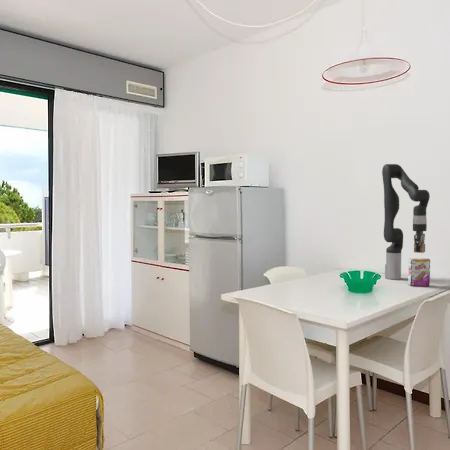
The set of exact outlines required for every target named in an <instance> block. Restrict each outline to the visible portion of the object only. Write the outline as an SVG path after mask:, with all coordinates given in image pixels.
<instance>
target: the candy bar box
mask: <svg viewBox="0 0 450 450" xmlns="http://www.w3.org/2000/svg"><path fill="white" fill-rule="evenodd" d="M430 279H431V259H430V258H428V257H427V258H423V257H422V258H420V257H419V258H418V257H417V258H416V257H414V258H413V257H409V258H408V279H407V280H408V281H407V285H408V286H410V287H430V284H431V283H430Z"/></svg>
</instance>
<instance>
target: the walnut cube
mask: <svg viewBox="0 0 450 450" xmlns="http://www.w3.org/2000/svg"><path fill="white" fill-rule="evenodd" d="M413 253H419V254H420V253H421V254H424V253H426V243H424V244H420V252H416V245H415V244H413Z"/></svg>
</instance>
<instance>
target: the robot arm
mask: <svg viewBox="0 0 450 450" xmlns="http://www.w3.org/2000/svg"><path fill="white" fill-rule="evenodd" d="M381 173H382V174H381V175H382V184H383V194H384V195H383V206H384V221H383V222H384V224H383V238H384V240H385V242H386V243H391V244H390V246H388V247H386V249H385V251H386V252H385V254H386V258H385V262H386V263H385V264H384V265H385V266H384V279H388V280H401V279H402V250H403V247H404V232H403V230H402V229H401V228H398V227H394V223H395V219H396V216H397V215H398V212H399V210H400V196H399V194H398V193H397V191H396V190H395V188H394V186H393V183H392V182H393V181H392V179H398V180H399V181H400V186H401V188H402V189H403V190H404V191H405V193H407V195H408V196H409V198H410V199H411V201H412V202H416V203H417V202H419V203H418V205H415V206H413V210H412V211H413V212H412V213H413V215H412V216H413V217H412V232H415V234H414V235H413V240H414V244H415V245H416V252H415V253H417V252H420V244H425V239H426V238H425V237H426V234H425V233H424V232H426V231H427V227H428V226H427V223H428V222H427V207H428V204H429V200H430V192H429V190H427V189H420V188H419V186H418V185H417V183H415V182H414V181H413V180H412V179H411V178H410V177H409V176H408V175H407V173H406V172H405V170H404V169H403V167H402V166H401V165H400V164H397V163H386V164H384V165H383V167H382V170H381ZM410 199H409V200H410ZM414 244H413V245H414Z"/></svg>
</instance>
